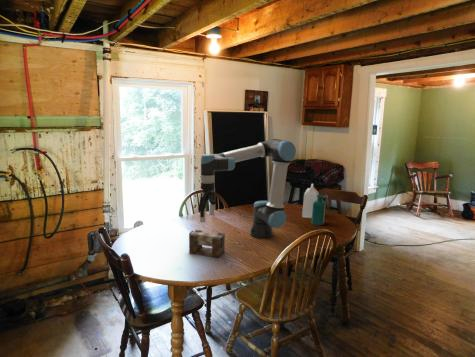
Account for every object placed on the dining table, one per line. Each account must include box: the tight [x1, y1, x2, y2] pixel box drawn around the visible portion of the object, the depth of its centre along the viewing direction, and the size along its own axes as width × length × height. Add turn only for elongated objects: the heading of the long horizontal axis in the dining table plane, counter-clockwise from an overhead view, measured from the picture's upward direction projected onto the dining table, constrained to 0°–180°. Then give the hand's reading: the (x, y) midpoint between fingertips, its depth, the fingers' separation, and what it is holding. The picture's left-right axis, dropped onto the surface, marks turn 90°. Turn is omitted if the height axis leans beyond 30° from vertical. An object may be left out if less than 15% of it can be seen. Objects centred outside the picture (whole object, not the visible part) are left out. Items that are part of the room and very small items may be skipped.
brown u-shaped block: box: [188, 229, 226, 259], centre depth 192 cm, size 18×10×11 cm, turn 73°
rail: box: [188, 230, 226, 248], centre depth 191 cm, size 20×4×6 cm, turn 73°
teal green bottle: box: [311, 194, 329, 226], centre depth 247 cm, size 10×8×22 cm
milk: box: [301, 183, 320, 219], centre depth 266 cm, size 12×12×26 cm
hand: (207, 218), depth 189 cm, fingers open, 13 cm apart
